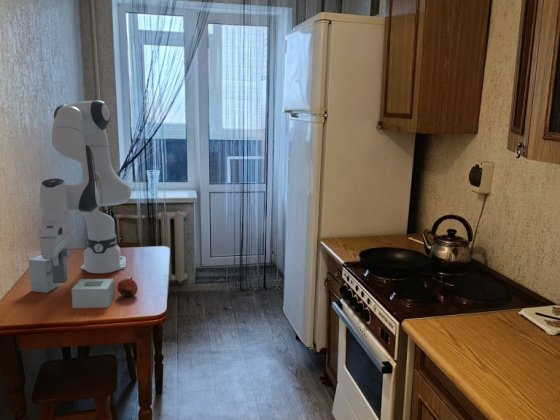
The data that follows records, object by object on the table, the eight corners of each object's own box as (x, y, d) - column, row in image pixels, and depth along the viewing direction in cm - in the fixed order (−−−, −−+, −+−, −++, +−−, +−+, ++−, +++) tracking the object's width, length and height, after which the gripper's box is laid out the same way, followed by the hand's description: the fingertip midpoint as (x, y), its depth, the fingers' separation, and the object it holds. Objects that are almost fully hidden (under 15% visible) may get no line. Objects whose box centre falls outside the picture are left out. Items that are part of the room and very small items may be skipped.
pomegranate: (133, 306, 173) (146, 284, 179) (122, 295, 168) (136, 272, 174) (118, 304, 176) (131, 282, 182) (107, 293, 171) (121, 271, 177)
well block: (81, 297, 174) (80, 279, 173) (114, 296, 176) (113, 278, 174) (72, 308, 165) (71, 289, 163) (108, 307, 166) (107, 288, 164)
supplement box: (47, 293, 177) (44, 261, 174) (30, 291, 178) (27, 259, 176) (60, 286, 184) (57, 255, 181) (43, 284, 185) (41, 253, 183)
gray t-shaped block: (51, 280, 170) (49, 248, 167) (71, 279, 171) (69, 248, 168) (48, 283, 167) (46, 251, 164) (69, 283, 168) (66, 251, 165)
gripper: (56, 218, 174) (59, 253, 177) (35, 233, 154) (38, 273, 157) (74, 218, 174) (76, 253, 178) (55, 233, 155) (58, 273, 158)
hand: (58, 262), depth 167 cm, fingers closed on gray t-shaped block, 3 cm apart
